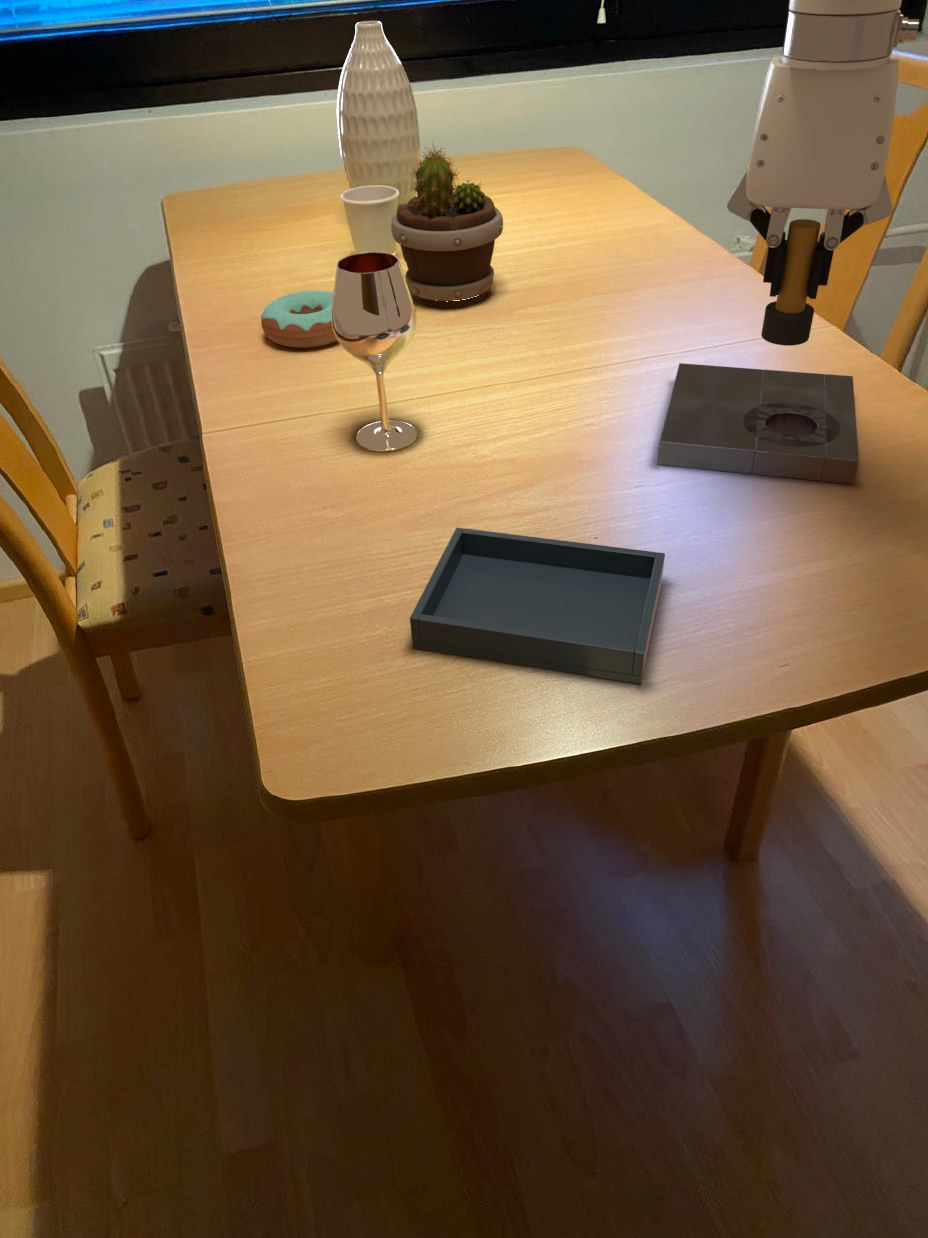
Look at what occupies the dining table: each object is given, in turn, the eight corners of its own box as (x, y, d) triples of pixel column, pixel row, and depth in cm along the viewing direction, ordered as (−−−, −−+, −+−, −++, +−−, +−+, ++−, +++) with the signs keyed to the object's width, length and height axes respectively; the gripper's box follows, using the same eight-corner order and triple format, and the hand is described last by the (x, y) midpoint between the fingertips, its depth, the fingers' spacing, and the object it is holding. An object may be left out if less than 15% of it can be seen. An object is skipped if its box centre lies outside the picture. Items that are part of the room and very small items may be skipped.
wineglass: (440, 439, 96) (428, 263, 85) (372, 464, 93) (350, 284, 81) (399, 411, 101) (383, 241, 90) (333, 434, 98) (308, 261, 87)
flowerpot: (425, 270, 135) (414, 118, 123) (522, 282, 130) (521, 124, 117) (376, 306, 125) (358, 144, 113) (479, 321, 120) (473, 152, 107)
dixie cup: (341, 272, 136) (332, 200, 130) (359, 253, 143) (351, 184, 136) (395, 274, 135) (389, 202, 128) (411, 255, 141) (406, 185, 135)
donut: (244, 344, 118) (238, 313, 115) (300, 310, 126) (295, 281, 123) (322, 359, 113) (317, 327, 110) (374, 323, 121) (371, 292, 118)
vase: (370, 208, 161) (351, 15, 143) (437, 214, 157) (425, 16, 139) (334, 230, 152) (308, 28, 134) (404, 237, 148) (387, 29, 130)
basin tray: (661, 582, 76) (665, 552, 74) (641, 684, 67) (644, 653, 65) (458, 555, 80) (456, 526, 78) (412, 648, 71) (409, 618, 69)
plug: (809, 329, 82) (831, 216, 76) (808, 347, 79) (831, 232, 73) (762, 326, 83) (780, 215, 77) (760, 343, 80) (778, 230, 74)
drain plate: (847, 397, 99) (853, 375, 98) (852, 484, 86) (859, 460, 84) (676, 383, 104) (679, 362, 102) (656, 464, 90) (659, 441, 89)
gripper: (953, 29, 68) (891, 281, 80) (727, 32, 72) (700, 271, 84) (965, 46, 62) (897, 314, 74) (719, 48, 66) (691, 302, 78)
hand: (793, 290), depth 79 cm, fingers closed on plug, 2 cm apart
